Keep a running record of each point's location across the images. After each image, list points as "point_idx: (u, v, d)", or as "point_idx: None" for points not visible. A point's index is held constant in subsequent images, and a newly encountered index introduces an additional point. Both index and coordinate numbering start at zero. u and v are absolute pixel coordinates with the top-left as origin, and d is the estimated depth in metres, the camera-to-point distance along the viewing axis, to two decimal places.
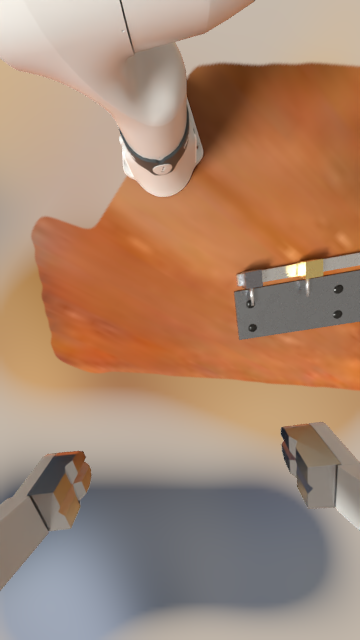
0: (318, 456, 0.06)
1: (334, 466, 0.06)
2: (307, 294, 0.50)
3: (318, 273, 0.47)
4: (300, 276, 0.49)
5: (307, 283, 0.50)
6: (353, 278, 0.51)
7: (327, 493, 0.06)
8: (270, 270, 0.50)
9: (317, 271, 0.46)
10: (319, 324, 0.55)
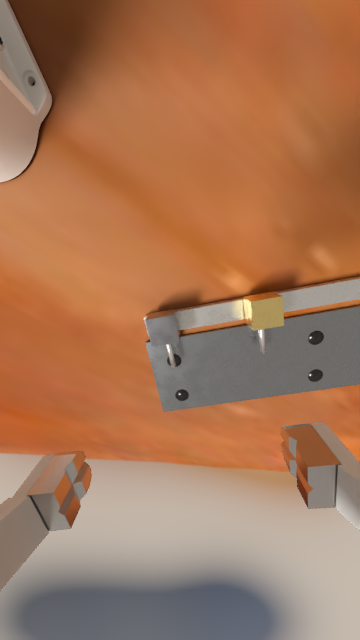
0: (318, 456, 0.06)
1: (334, 466, 0.06)
2: (262, 350, 0.30)
3: (275, 321, 0.26)
4: (248, 321, 0.28)
5: (261, 333, 0.29)
6: (340, 321, 0.30)
7: (327, 493, 0.06)
8: (198, 310, 0.29)
9: (273, 318, 0.26)
10: (287, 389, 0.34)
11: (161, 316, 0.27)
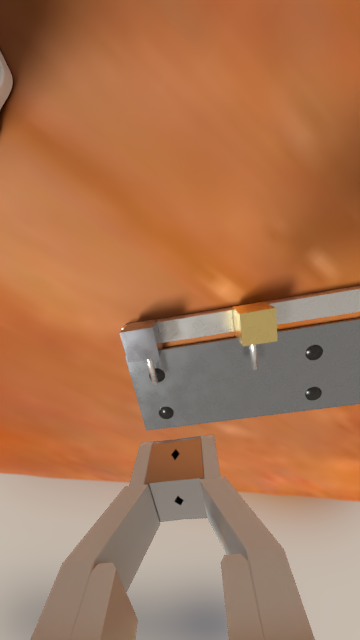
0: (188, 470, 0.06)
1: (198, 480, 0.06)
2: (253, 366, 0.26)
3: (267, 336, 0.23)
4: (237, 335, 0.25)
5: (252, 347, 0.26)
6: (341, 334, 0.27)
7: (197, 505, 0.06)
8: (183, 321, 0.26)
9: (265, 332, 0.22)
10: (282, 408, 0.31)
11: (138, 328, 0.23)
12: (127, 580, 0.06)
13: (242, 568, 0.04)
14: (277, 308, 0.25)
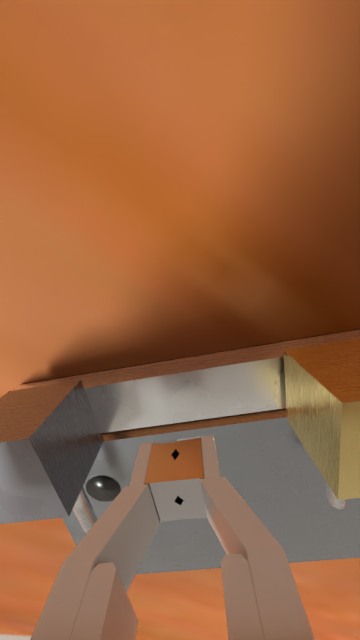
0: (188, 470, 0.06)
1: (198, 480, 0.06)
2: (335, 499, 0.10)
3: None
4: (302, 434, 0.09)
5: None
6: None
7: (197, 505, 0.06)
8: (149, 384, 0.10)
9: None
10: None
11: None
12: (127, 580, 0.06)
13: (242, 568, 0.04)
14: None
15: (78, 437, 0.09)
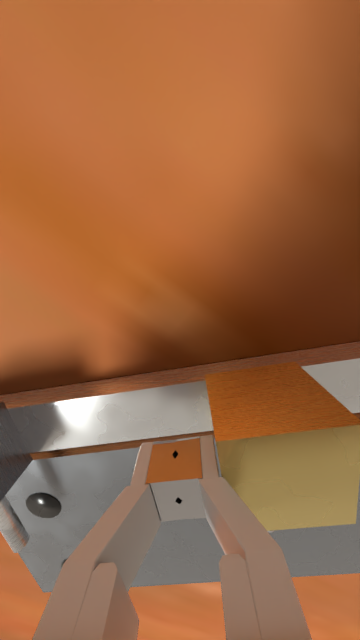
0: (187, 470, 0.06)
1: (197, 480, 0.06)
2: None
3: (321, 509, 0.06)
4: None
5: None
6: None
7: (196, 505, 0.06)
8: (71, 406, 0.10)
9: (313, 499, 0.06)
10: (320, 567, 0.14)
11: None
12: (127, 580, 0.06)
13: (240, 568, 0.04)
14: (323, 378, 0.09)
15: None
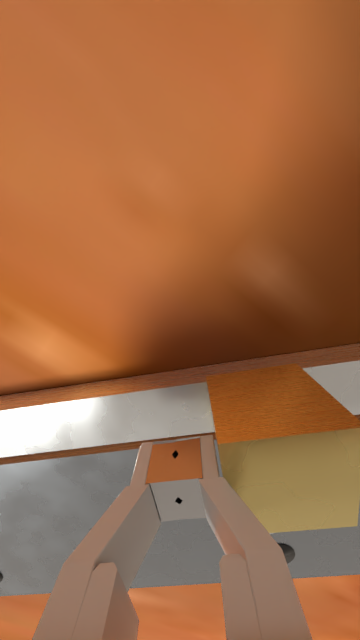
0: (187, 470, 0.06)
1: (197, 480, 0.06)
2: None
3: (323, 512, 0.06)
4: (220, 462, 0.09)
5: None
6: None
7: (196, 505, 0.06)
8: None
9: (315, 501, 0.06)
10: (216, 575, 0.15)
11: None
12: (127, 580, 0.06)
13: (240, 568, 0.04)
14: (164, 402, 0.10)
15: None
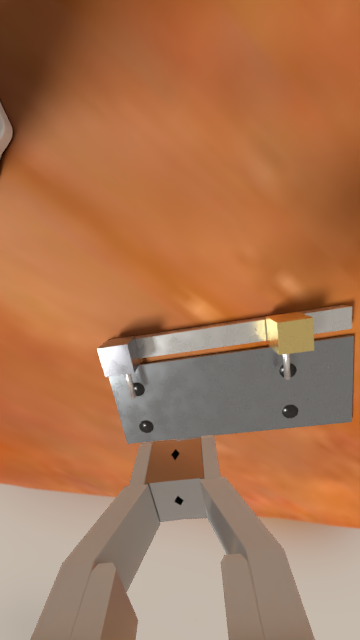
0: (188, 470, 0.06)
1: (198, 480, 0.06)
2: (286, 375, 0.27)
3: (304, 345, 0.23)
4: (271, 344, 0.25)
5: (285, 356, 0.26)
6: (313, 353, 0.28)
7: (197, 505, 0.06)
8: (159, 338, 0.28)
9: (302, 341, 0.23)
10: (260, 425, 0.31)
11: (115, 345, 0.25)
12: (126, 580, 0.06)
13: (242, 568, 0.04)
14: (248, 327, 0.27)
15: (135, 353, 0.27)
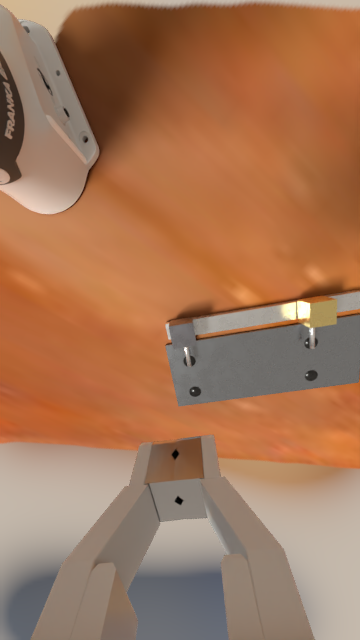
0: (188, 470, 0.06)
1: (198, 480, 0.06)
2: (312, 345, 0.34)
3: (329, 320, 0.31)
4: (302, 321, 0.33)
5: (312, 330, 0.34)
6: (331, 329, 0.36)
7: (197, 505, 0.06)
8: (212, 318, 0.35)
9: (327, 317, 0.30)
10: (287, 387, 0.39)
11: (182, 323, 0.32)
12: (126, 580, 0.06)
13: (242, 568, 0.04)
14: (283, 308, 0.34)
15: (194, 330, 0.34)
